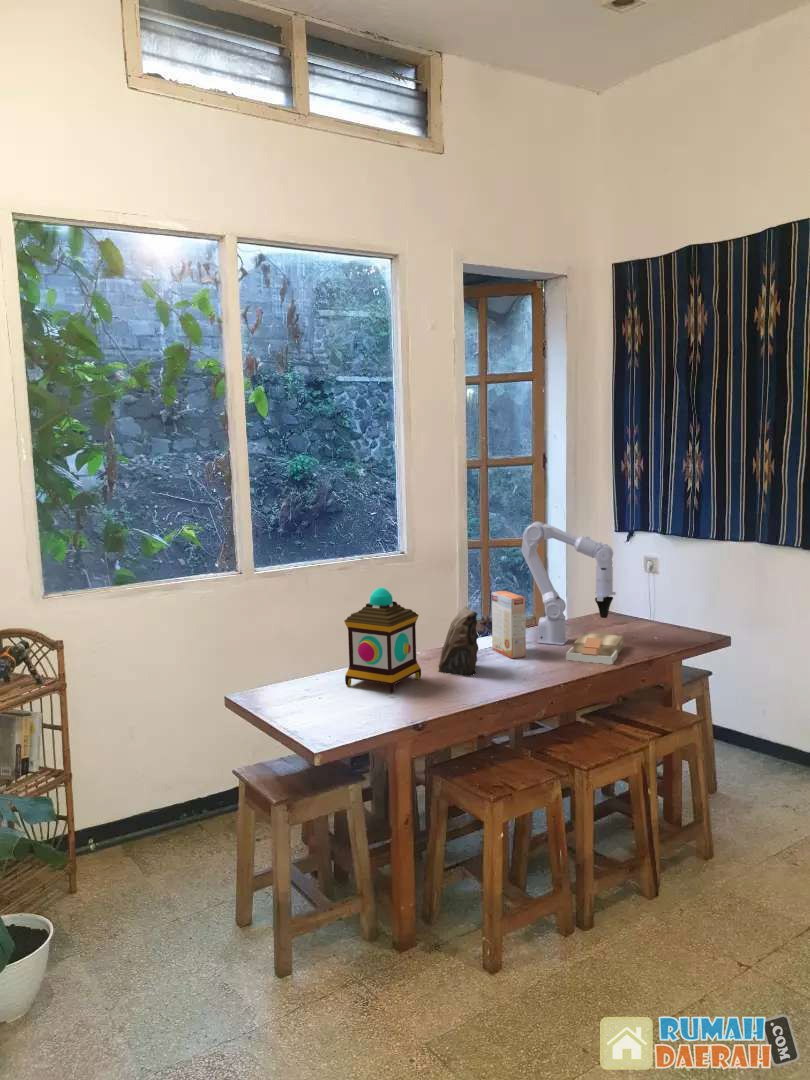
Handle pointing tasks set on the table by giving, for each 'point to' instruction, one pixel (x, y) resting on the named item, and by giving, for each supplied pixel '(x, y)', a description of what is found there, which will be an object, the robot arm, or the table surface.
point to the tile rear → (593, 643)
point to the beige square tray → (608, 643)
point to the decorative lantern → (382, 642)
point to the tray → (590, 657)
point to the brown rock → (460, 645)
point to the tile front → (589, 651)
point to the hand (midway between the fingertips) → (604, 617)
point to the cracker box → (509, 624)
